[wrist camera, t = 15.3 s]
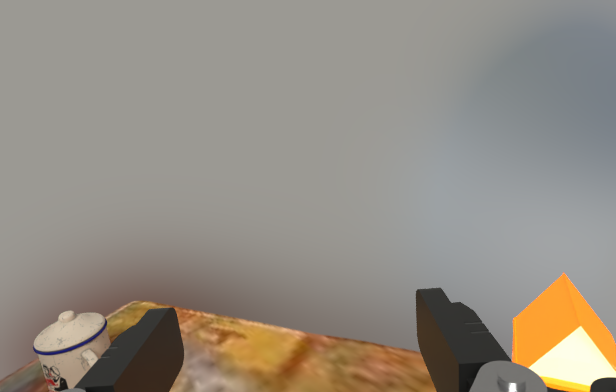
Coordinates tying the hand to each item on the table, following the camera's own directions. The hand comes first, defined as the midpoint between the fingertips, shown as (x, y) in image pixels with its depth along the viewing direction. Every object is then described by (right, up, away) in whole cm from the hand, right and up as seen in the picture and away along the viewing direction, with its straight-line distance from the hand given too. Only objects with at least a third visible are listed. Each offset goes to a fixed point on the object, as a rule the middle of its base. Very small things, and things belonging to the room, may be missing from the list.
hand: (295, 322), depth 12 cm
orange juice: (+24, -23, +23) cm, 40 cm away
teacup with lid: (-32, -24, +42) cm, 58 cm away
